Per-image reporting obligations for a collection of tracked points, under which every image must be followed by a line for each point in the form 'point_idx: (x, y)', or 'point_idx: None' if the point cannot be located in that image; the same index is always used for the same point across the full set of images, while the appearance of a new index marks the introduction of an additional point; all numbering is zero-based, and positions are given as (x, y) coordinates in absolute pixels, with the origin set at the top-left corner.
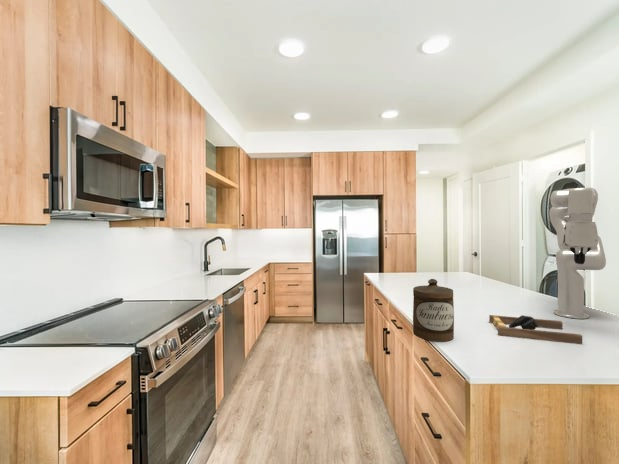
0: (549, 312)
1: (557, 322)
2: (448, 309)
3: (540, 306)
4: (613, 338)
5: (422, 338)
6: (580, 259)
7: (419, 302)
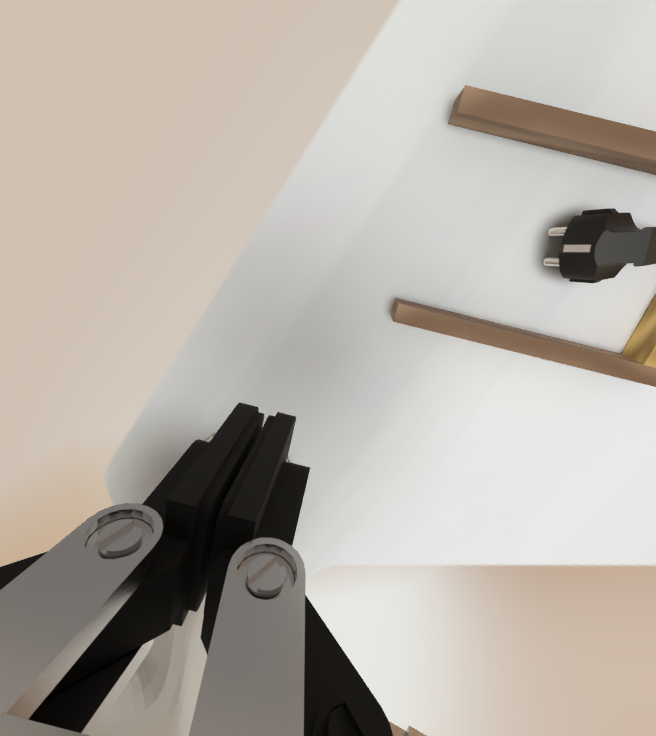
0: None
1: (416, 307)
2: None
3: None
4: (273, 202)
5: None
6: (260, 447)
7: None
